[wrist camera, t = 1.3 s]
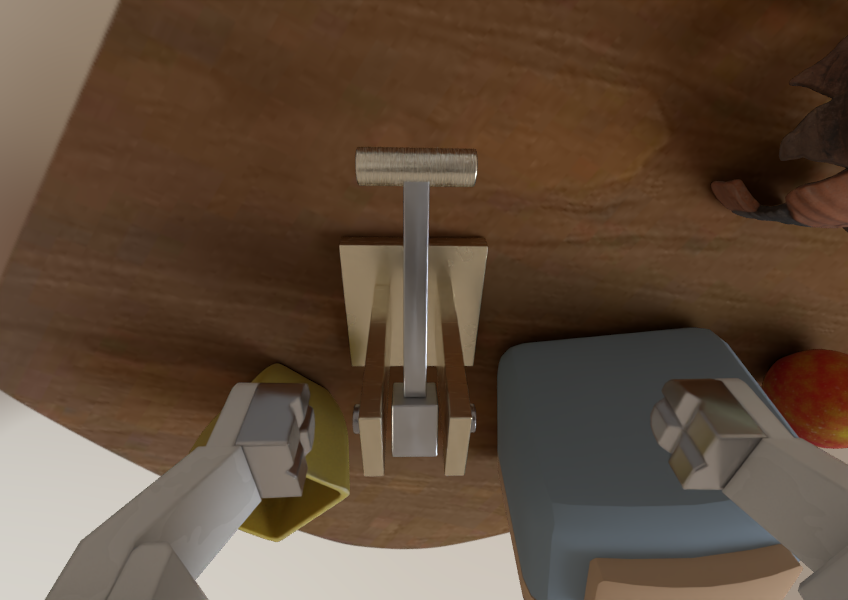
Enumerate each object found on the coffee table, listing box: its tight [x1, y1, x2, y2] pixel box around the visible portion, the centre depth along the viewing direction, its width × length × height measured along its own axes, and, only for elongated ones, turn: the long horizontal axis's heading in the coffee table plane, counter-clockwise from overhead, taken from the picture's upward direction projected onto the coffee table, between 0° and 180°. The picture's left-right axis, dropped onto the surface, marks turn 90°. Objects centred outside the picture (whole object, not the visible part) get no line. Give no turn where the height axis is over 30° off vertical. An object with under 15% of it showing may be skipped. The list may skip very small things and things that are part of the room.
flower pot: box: [189, 363, 350, 542], centre depth 31 cm, size 9×9×9 cm
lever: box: [355, 147, 478, 457], centre depth 20 cm, size 14×5×2 cm, turn 179°
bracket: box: [339, 237, 488, 476], centre depth 25 cm, size 10×9×12 cm
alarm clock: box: [497, 328, 803, 600], centre depth 29 cm, size 16×16×16 cm
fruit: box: [762, 349, 848, 449], centre depth 31 cm, size 7×7×8 cm
